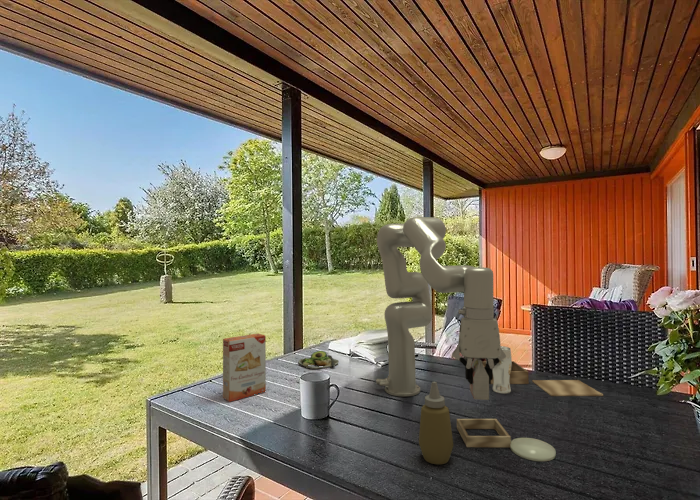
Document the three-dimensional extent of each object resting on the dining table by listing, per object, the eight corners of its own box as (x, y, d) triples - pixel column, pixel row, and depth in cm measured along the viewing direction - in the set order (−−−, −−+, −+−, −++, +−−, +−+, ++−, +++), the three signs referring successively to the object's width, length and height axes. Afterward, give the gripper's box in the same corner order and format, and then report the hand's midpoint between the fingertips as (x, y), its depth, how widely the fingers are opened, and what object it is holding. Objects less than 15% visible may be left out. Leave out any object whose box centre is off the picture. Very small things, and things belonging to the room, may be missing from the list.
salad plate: (349, 366, 170) (349, 356, 170) (315, 374, 160) (314, 363, 160) (326, 357, 186) (326, 348, 186) (293, 364, 176) (293, 354, 176)
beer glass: (508, 387, 138) (507, 345, 138) (515, 394, 131) (514, 350, 131) (489, 387, 139) (487, 345, 139) (494, 393, 132) (493, 350, 132)
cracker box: (229, 403, 128) (228, 340, 129) (222, 398, 133) (221, 338, 133) (266, 392, 138) (266, 334, 138) (258, 388, 142) (258, 332, 143)
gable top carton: (483, 390, 105) (483, 353, 105) (489, 399, 98) (488, 361, 98) (469, 389, 105) (469, 353, 105) (474, 399, 98) (473, 360, 98)
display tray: (489, 384, 142) (489, 371, 142) (478, 372, 156) (478, 361, 156) (528, 383, 141) (528, 371, 141) (514, 372, 155) (513, 361, 155)
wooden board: (551, 396, 128) (551, 394, 128) (532, 381, 143) (532, 380, 143) (603, 395, 128) (603, 394, 128) (578, 381, 143) (578, 380, 143)
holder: (466, 447, 95) (466, 437, 96) (456, 427, 106) (456, 418, 106) (511, 447, 95) (510, 437, 95) (496, 427, 106) (496, 418, 106)
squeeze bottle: (415, 451, 94) (413, 377, 94) (447, 449, 95) (445, 376, 95) (424, 469, 86) (422, 388, 86) (459, 466, 87) (456, 387, 87)
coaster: (519, 461, 88) (519, 457, 88) (504, 440, 98) (504, 437, 98) (563, 461, 88) (563, 458, 88) (544, 440, 98) (543, 437, 98)
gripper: (449, 316, 98) (450, 387, 98) (516, 316, 97) (516, 387, 97) (444, 311, 106) (444, 377, 106) (505, 311, 105) (505, 377, 105)
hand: (478, 381), depth 102 cm, fingers closed on gable top carton, 4 cm apart
